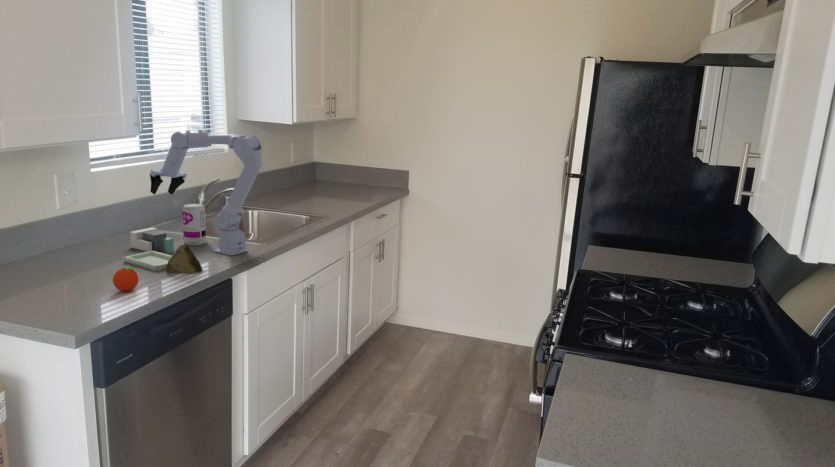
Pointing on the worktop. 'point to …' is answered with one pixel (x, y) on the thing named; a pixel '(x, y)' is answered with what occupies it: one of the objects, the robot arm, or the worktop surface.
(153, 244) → the toner caddy
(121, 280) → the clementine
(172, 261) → the rock
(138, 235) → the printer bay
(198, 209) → the supplement can
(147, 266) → the tray
